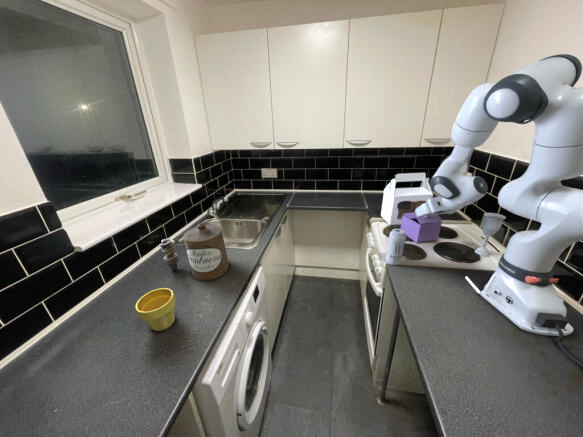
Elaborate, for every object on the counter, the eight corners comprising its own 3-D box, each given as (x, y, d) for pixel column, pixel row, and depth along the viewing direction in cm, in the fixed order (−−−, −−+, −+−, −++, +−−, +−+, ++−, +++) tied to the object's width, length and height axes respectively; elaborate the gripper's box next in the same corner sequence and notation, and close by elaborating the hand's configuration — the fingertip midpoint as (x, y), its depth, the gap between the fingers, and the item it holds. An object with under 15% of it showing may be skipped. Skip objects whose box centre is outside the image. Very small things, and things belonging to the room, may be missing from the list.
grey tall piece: (169, 267, 101) (160, 237, 95) (182, 265, 102) (174, 235, 96) (166, 275, 96) (156, 244, 90) (180, 272, 97) (171, 241, 91)
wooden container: (187, 282, 91) (174, 233, 82) (199, 260, 105) (188, 216, 96) (225, 279, 92) (215, 230, 83) (231, 258, 106) (224, 214, 97)
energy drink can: (389, 266, 96) (394, 235, 90) (383, 258, 101) (387, 228, 95) (403, 265, 96) (409, 234, 90) (396, 257, 102) (401, 227, 96)
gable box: (415, 214, 144) (424, 169, 132) (427, 223, 132) (438, 175, 120) (380, 215, 143) (386, 171, 132) (389, 224, 131) (396, 176, 120)
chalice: (485, 248, 106) (498, 212, 98) (495, 257, 99) (510, 219, 92) (468, 248, 106) (479, 212, 99) (477, 256, 100) (490, 219, 93)
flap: (441, 221, 111) (442, 220, 110) (420, 224, 109) (421, 223, 108) (434, 211, 114) (435, 210, 114) (413, 213, 112) (414, 213, 112)
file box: (437, 239, 115) (442, 220, 111) (416, 242, 113) (420, 223, 108) (419, 228, 126) (422, 211, 122) (399, 231, 124) (402, 213, 120)
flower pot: (140, 324, 73) (130, 300, 69) (172, 305, 80) (165, 283, 76) (151, 343, 67) (141, 318, 63) (186, 320, 74) (179, 297, 70)
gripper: (465, 194, 102) (442, 207, 114) (425, 199, 98) (406, 211, 110) (471, 207, 100) (447, 218, 112) (431, 212, 96) (411, 224, 108)
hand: (426, 215), depth 111 cm, fingers closed
